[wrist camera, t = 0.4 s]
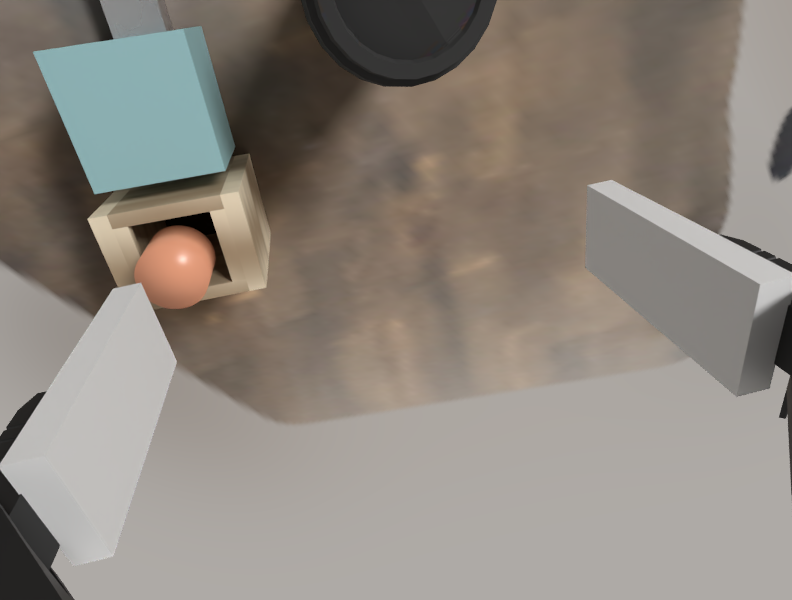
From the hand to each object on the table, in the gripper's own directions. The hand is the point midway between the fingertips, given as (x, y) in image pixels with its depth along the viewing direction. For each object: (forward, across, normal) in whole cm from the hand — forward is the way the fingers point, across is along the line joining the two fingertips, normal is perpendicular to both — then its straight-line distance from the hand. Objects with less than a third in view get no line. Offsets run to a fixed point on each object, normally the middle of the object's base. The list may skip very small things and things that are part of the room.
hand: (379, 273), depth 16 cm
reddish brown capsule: (+15, -10, -4) cm, 18 cm away
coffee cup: (+24, +4, +8) cm, 26 cm away
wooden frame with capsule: (+24, -10, -4) cm, 26 cm away
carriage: (+24, -10, +4) cm, 26 cm away
